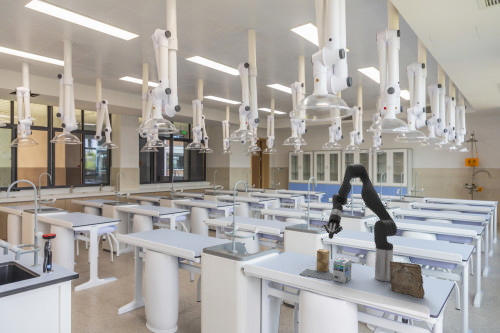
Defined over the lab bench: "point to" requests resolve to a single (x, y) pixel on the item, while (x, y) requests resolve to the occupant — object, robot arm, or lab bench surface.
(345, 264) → the light bulb box
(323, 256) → the oak block
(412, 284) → the mineral sample
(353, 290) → the lab bench surface
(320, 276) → the mat
